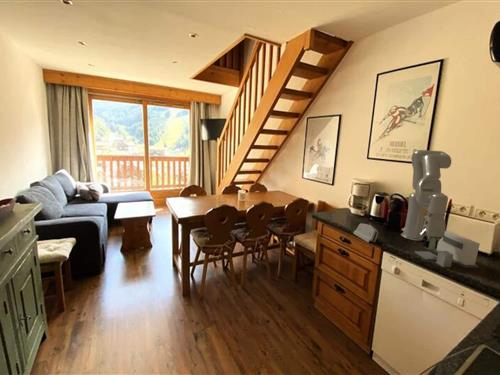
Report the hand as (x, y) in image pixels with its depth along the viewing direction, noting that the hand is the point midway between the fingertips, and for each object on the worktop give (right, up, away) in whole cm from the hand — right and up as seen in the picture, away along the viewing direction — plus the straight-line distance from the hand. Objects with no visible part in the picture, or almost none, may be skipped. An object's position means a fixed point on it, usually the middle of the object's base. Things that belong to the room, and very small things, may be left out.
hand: (429, 246), depth 140 cm
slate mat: (0, -6, +1) cm, 6 cm away
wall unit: (+13, -7, 0) cm, 15 cm away
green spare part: (0, -1, 0) cm, 1 cm away
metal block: (+1, -8, -8) cm, 11 cm away
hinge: (-25, 0, +26) cm, 36 cm away
